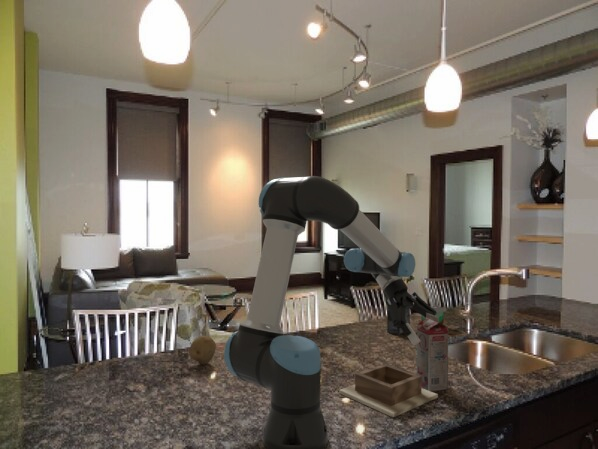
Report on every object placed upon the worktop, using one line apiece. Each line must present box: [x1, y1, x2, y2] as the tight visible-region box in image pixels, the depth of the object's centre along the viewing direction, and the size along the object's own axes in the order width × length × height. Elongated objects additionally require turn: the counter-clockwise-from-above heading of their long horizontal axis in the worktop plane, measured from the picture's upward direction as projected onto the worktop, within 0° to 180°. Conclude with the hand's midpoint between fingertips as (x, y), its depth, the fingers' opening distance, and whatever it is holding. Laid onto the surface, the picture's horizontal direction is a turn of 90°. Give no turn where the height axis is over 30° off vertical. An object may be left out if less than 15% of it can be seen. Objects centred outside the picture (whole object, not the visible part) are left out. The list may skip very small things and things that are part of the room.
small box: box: [386, 309, 411, 336], centre depth 199 cm, size 11×6×10 cm, turn 141°
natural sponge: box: [188, 335, 217, 365], centre depth 156 cm, size 9×9×10 cm
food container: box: [420, 305, 447, 325], centre depth 205 cm, size 12×6×10 cm, turn 73°
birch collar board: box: [338, 363, 439, 418], centre depth 130 cm, size 20×20×6 cm
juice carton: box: [416, 313, 449, 392], centre depth 137 cm, size 7×7×22 cm
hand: (430, 339), depth 138 cm, fingers open, 13 cm apart
